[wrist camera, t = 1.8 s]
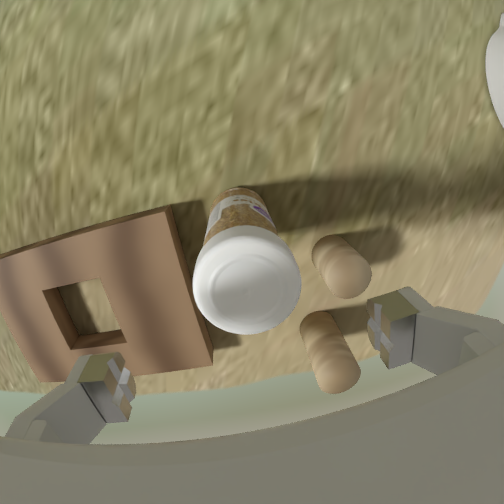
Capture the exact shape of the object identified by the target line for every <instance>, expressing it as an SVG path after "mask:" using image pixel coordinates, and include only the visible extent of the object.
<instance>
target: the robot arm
mask: <svg viewBox="0 0 504 504" xmlns="http://www.w3.org/2000/svg"><path fill="white" fill-rule="evenodd" d="M486 76H487V83H488V88H489V92H490V96H491V100H492V103H493V106H494V109H495V111H496V114H497V116H498V118H499V120H500V122H501V124H502V126H503V128H504V12H503V13H502V15H501V18H500V26H499V28H498V30H497V31H496V32H495V33H494V34H493V35H492V36H491V38H490V40H489V43H488V46H487V51H486ZM367 312H368V313H369V315H370V316H371V317H370V319H369V320H368V322H367V331H368V336H369V340H370V342H371V344H372V346H373V347H374V349H376V350H379V351H380V358H381V359H382V361H383V362H384V364H385V365H386V367H387V368H388V369H391V368H395V367H397V366H401V365H404V364H406V363H409V362H412V363H414V364H416V365H418V366H420V367H422V368H424V369H426V370H428V371H430V372H432V373H434V374H436V375H437V376H434V377H432V378H430V379H427V380H425V381H423V382H420V383H418V384H415V385H413V386H410V387H408V388H405V389H403V390H400V391H397V392H395V393H392V394H389V395H386V396H383V397H381V398H378V399H375V400H372V401H369V402H366V403H363V404H360V405H357V406H353V407H350V408H347V409H343V410H340V411H336V412H333V413H329V414H326V415H322V416H318V417H315V418H310V419H307V420H303V421H298V422H294V423H290V424H285V425H281V426H276V427H271V428H267V429H262V430H256V431H251V432H245V433H240V434H233V435H227V436H220V437H212V438H205V439H196V440H187V441H176V442H164V443H149V444H148V443H147V444H122V445H121V444H120V445H119V444H117V445H116V444H115V445H100V444H97V445H96V444H90V443H91V441H92V440H93V439H94V438H95V437H96V436H97V435H98V433H99V432H100V431H101V430H102V429H103V428H104V426H105V425H106V423H116V422H128V420H129V416H130V413H131V409H132V407H131V405H130V402H131V401H132V400H133V399H134V398H135V394H136V384H135V381H134V377H133V375H132V373H131V372H130V371H129V370H127V369H126V368H125V367H124V365H125V362H126V361H125V360H124V358H123V356H122V354H121V353H119V352H109V353H100V354H90V355H82V356H80V357H78V359H77V361H76V363H75V365H74V366H73V368H72V370H71V372H70V374H69V376H68V377H67V379H66V381H65V383H64V384H60V385H59V386H57V387H56V388H55V389H53V390H52V391H51V392H49V393H48V394H46V395H45V396H44V397H42V398H41V399H40V400H38V401H37V402H36V403H34V404H33V405H32V406H30V407H29V408H27V409H26V410H25V411H23V412H22V413H20V414H19V415H18V416H17V417H15V419H14V421H13V422H12V424H11V426H10V428H9V430H8V432H7V433H6V435H5V437H1V436H0V504H504V324H502V323H501V322H500V321H499V320H497V319H492V318H488V317H483V316H479V315H474V314H470V313H465V312H461V311H457V310H452V309H448V308H443V307H439V306H437V307H433V306H432V305H431V304H429V303H428V302H427V301H426V300H425V299H424V298H423V297H422V296H420V295H419V294H418V293H417V292H416V291H415V290H413V289H412V288H411V287H408V286H407V287H404V288H402V289H399V290H396V291H393V292H390V293H387V294H384V295H381V296H377V297H374V298H371V299H368V300H367Z"/></svg>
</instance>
